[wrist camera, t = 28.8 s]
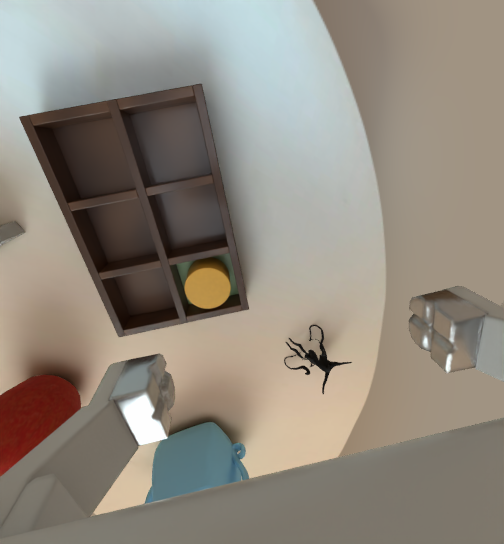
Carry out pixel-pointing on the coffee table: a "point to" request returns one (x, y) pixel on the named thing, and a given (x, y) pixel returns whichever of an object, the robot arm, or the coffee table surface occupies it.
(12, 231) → the grey flat piece
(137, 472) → the coffee table surface
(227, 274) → the cylinder
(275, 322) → the coffee table surface
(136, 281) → the grid
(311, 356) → the creature
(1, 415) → the apple
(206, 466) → the teapot
